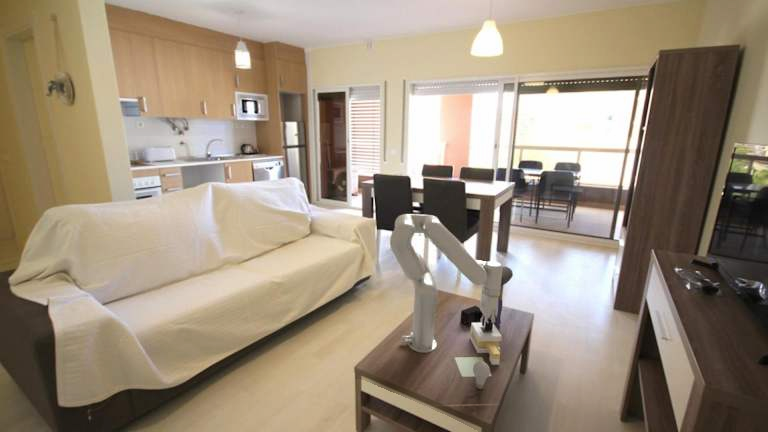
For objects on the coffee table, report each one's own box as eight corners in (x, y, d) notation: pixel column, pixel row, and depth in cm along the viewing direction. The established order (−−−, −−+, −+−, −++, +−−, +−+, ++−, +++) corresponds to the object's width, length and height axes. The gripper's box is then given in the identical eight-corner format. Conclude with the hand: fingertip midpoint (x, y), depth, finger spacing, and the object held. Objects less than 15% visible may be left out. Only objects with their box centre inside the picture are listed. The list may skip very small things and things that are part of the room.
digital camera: (468, 328, 174) (469, 315, 172) (460, 323, 178) (461, 310, 177) (482, 322, 180) (483, 309, 178) (474, 317, 184) (475, 305, 182)
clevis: (483, 365, 146) (485, 347, 144) (469, 339, 164) (471, 322, 162) (507, 365, 146) (509, 347, 144) (490, 338, 165) (492, 322, 163)
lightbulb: (468, 389, 132) (471, 364, 129) (474, 380, 137) (476, 355, 134) (484, 396, 129) (487, 370, 126) (490, 387, 134) (492, 361, 131)
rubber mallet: (498, 333, 170) (505, 275, 163) (483, 327, 175) (489, 270, 167) (508, 322, 179) (514, 267, 172) (493, 317, 184) (499, 263, 177)
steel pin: (483, 339, 155) (486, 310, 152) (479, 333, 160) (482, 305, 156) (492, 339, 156) (496, 310, 152) (489, 333, 160) (492, 305, 156)
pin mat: (462, 377, 138) (462, 376, 138) (454, 358, 150) (454, 357, 150) (491, 377, 139) (492, 376, 139) (481, 358, 151) (482, 357, 151)
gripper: (476, 282, 160) (473, 318, 164) (488, 298, 144) (484, 338, 148) (492, 282, 160) (488, 318, 165) (506, 298, 145) (502, 338, 149)
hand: (487, 327), depth 157 cm, fingers closed on steel pin, 3 cm apart
